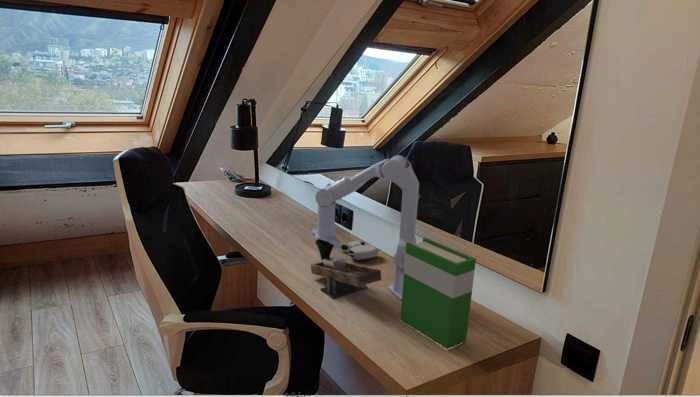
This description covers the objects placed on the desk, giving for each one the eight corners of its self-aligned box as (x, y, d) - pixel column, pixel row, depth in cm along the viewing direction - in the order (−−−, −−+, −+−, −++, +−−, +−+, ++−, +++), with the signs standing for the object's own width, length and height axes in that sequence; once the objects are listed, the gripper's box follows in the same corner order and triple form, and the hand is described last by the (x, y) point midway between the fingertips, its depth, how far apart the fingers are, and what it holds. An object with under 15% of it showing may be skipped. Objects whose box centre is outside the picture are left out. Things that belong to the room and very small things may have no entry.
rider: (346, 273, 153) (347, 259, 151) (334, 277, 150) (334, 262, 148) (334, 266, 158) (335, 252, 156) (322, 269, 155) (322, 255, 154)
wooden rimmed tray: (381, 279, 141) (380, 270, 141) (358, 286, 136) (357, 277, 136) (333, 267, 162) (332, 259, 162) (311, 273, 157) (310, 264, 157)
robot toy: (336, 252, 182) (353, 264, 169) (336, 241, 182) (353, 253, 168) (363, 248, 188) (382, 260, 175) (364, 238, 187) (383, 248, 174)
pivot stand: (367, 288, 152) (368, 271, 150) (332, 299, 144) (333, 281, 142) (354, 280, 157) (355, 263, 156) (320, 290, 149) (320, 273, 147)
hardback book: (400, 321, 133) (406, 242, 126) (418, 313, 137) (425, 237, 131) (447, 351, 119) (456, 265, 113) (465, 342, 124) (475, 258, 117)
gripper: (304, 218, 157) (303, 255, 161) (328, 230, 146) (327, 270, 150) (321, 215, 161) (320, 251, 165) (346, 227, 150) (344, 265, 154)
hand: (325, 260), depth 158 cm, fingers closed
